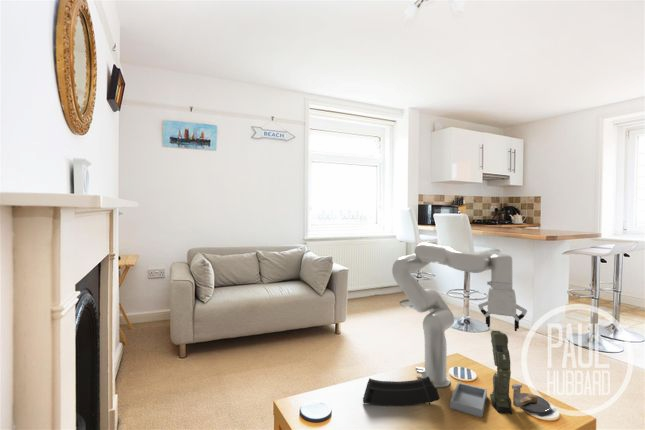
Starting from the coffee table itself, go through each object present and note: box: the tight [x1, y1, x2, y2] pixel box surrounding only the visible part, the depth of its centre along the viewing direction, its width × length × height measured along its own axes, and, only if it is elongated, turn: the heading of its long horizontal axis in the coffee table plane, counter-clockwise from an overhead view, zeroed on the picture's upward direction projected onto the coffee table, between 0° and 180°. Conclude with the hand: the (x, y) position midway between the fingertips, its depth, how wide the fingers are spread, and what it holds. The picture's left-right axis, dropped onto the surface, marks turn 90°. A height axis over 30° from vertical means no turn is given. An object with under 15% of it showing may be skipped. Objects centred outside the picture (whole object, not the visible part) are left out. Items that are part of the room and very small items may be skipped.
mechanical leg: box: [489, 330, 513, 415], centre depth 141 cm, size 14×7×30 cm, turn 168°
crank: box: [511, 382, 538, 408], centre depth 138 cm, size 13×4×8 cm, turn 114°
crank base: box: [519, 392, 551, 415], centre depth 140 cm, size 12×12×2 cm
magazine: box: [362, 376, 440, 407], centre depth 142 cm, size 17×3×30 cm
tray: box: [449, 382, 488, 419], centre depth 142 cm, size 12×17×3 cm
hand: (502, 328), depth 139 cm, fingers open, 9 cm apart
